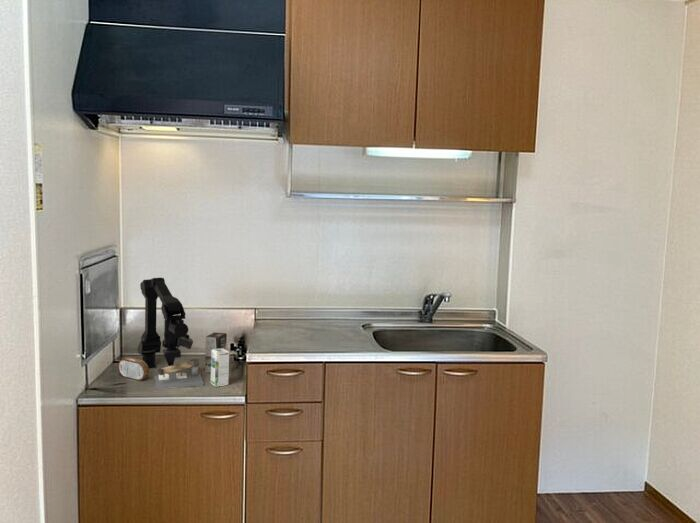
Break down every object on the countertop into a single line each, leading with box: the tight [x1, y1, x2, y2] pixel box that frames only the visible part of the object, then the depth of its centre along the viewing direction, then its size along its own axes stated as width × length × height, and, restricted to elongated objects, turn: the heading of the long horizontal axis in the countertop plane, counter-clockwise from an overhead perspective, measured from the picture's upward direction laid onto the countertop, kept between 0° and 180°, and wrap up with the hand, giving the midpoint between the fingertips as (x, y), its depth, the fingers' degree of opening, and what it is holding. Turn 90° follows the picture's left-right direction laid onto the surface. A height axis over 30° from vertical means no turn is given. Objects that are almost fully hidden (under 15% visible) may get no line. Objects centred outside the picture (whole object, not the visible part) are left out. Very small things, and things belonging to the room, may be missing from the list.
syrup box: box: [210, 349, 230, 388], centre depth 230 cm, size 6×6×14 cm
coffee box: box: [204, 332, 228, 373], centre depth 249 cm, size 9×6×16 cm
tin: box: [118, 356, 150, 381], centre depth 233 cm, size 15×3×8 cm, turn 65°
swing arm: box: [157, 358, 200, 376], centre depth 230 cm, size 20×4×2 cm, turn 146°
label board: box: [154, 366, 204, 389], centre depth 231 cm, size 14×18×5 cm
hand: (170, 368), depth 230 cm, fingers closed
